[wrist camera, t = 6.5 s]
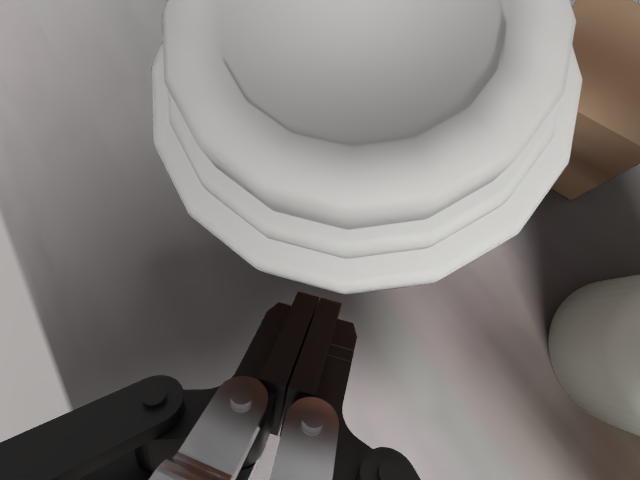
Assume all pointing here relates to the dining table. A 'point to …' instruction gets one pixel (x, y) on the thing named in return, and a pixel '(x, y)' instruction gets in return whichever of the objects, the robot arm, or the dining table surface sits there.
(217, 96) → the coffee cup
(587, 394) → the canister
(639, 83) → the walnut block
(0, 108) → the dining table surface
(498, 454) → the dining table surface
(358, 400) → the dining table surface
